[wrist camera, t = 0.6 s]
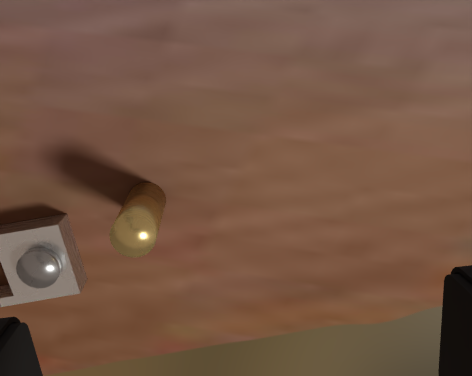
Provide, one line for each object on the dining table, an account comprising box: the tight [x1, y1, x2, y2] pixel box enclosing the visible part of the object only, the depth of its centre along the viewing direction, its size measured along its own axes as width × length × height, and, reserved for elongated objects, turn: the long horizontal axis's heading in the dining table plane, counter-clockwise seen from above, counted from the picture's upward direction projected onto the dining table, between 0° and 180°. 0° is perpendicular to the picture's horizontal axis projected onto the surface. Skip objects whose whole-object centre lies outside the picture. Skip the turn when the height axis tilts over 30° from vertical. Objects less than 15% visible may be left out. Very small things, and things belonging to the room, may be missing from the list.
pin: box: [110, 182, 166, 257], centre depth 36 cm, size 3×3×8 cm
